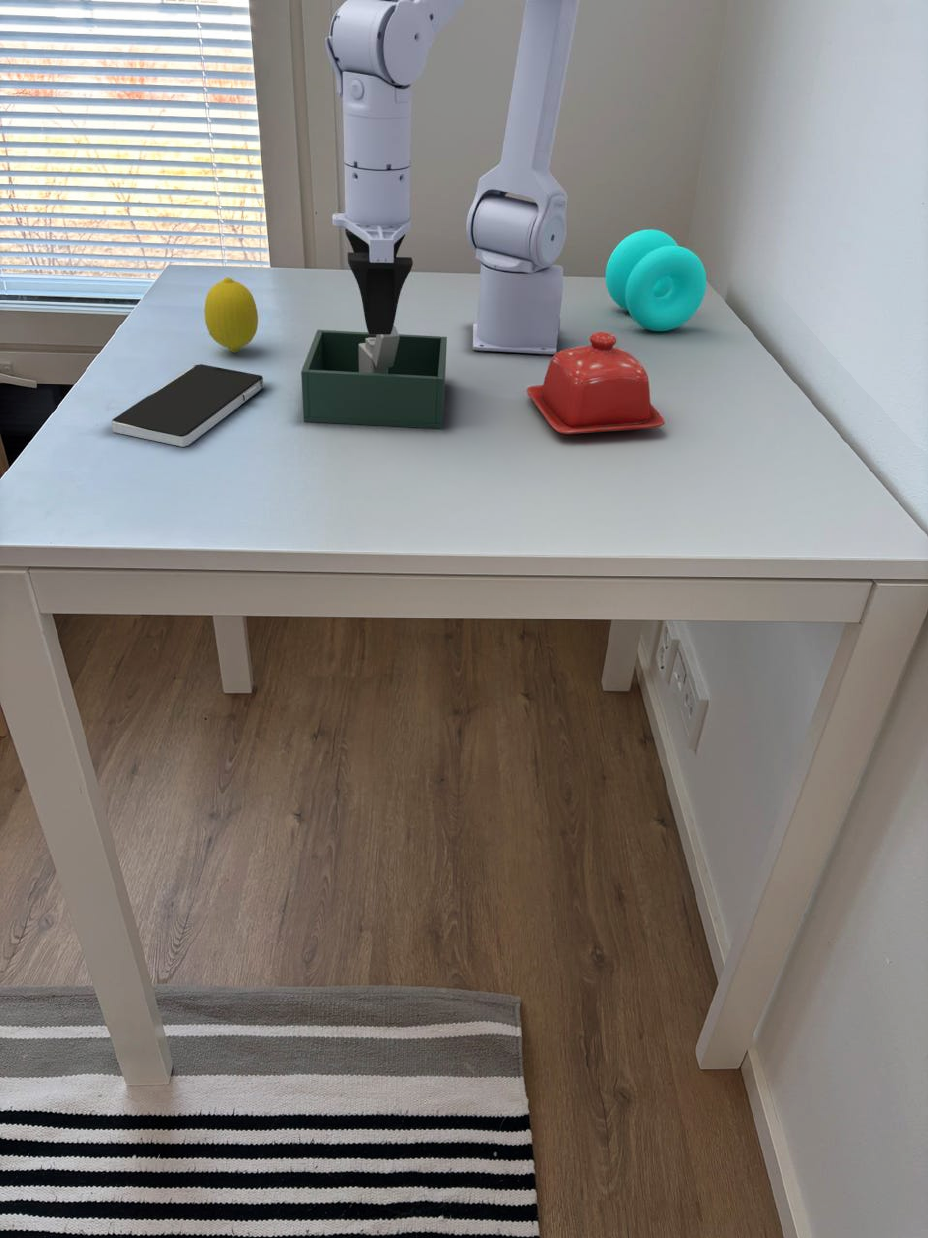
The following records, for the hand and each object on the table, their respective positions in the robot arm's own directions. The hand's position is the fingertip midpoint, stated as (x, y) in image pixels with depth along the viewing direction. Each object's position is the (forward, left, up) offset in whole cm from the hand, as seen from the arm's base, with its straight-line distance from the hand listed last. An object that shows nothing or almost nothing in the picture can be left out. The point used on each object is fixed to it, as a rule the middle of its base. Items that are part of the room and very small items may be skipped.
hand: (377, 318), depth 91 cm
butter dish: (-21, +1, -8) cm, 23 cm away
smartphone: (+18, +4, -8) cm, 20 cm away
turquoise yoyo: (-31, -29, -8) cm, 44 cm away
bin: (0, 0, -8) cm, 8 cm away
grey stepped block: (0, 0, -8) cm, 8 cm away
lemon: (+17, -11, -8) cm, 22 cm away
